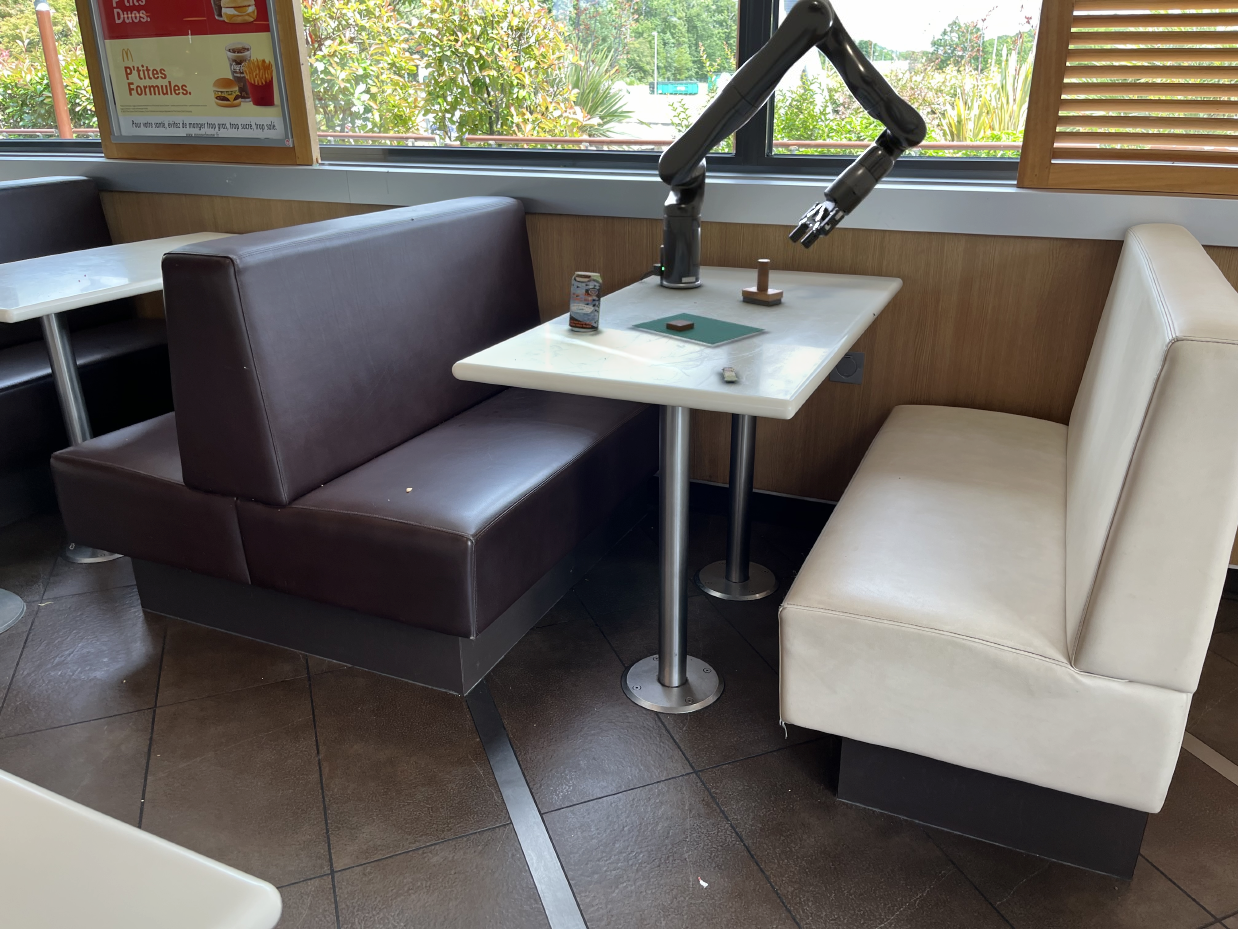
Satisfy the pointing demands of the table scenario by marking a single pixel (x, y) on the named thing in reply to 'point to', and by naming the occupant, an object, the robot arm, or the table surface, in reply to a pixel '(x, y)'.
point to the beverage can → (585, 301)
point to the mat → (701, 328)
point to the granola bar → (729, 374)
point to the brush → (762, 288)
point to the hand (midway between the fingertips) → (797, 243)
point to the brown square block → (680, 325)
